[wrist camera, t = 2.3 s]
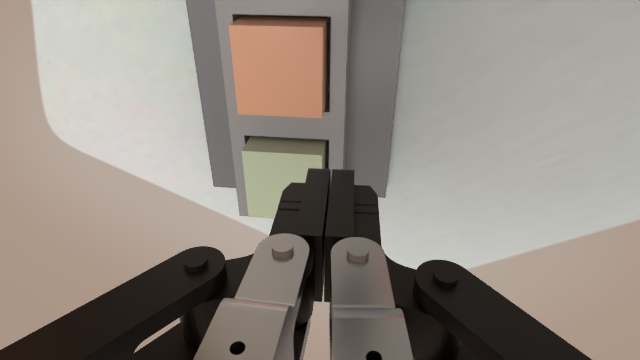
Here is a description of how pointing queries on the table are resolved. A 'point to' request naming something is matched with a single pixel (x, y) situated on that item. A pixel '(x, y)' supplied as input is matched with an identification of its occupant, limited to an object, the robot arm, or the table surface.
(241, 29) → the button terracotta
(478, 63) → the table surface
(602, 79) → the table surface
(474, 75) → the table surface
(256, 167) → the button sage
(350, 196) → the robot arm
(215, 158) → the console
